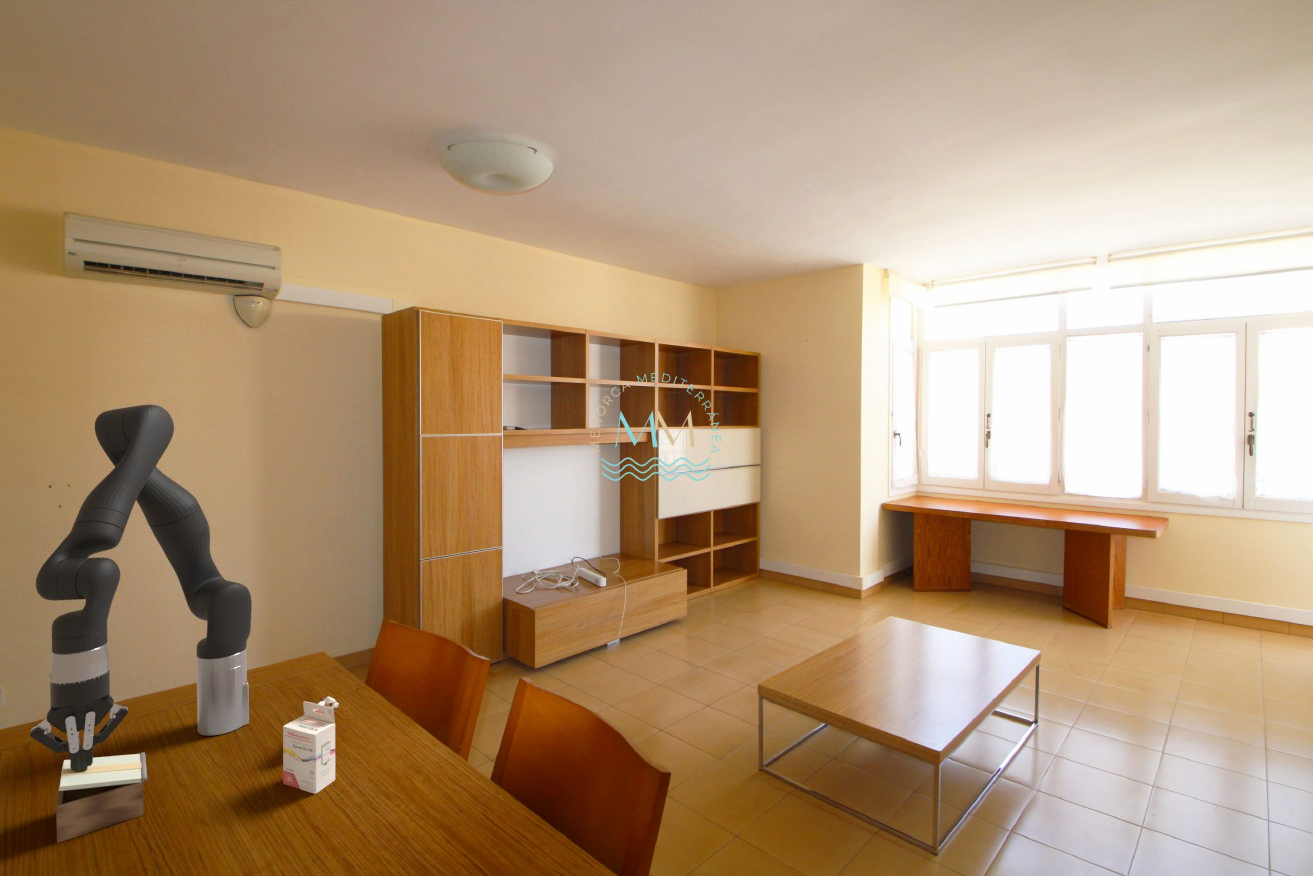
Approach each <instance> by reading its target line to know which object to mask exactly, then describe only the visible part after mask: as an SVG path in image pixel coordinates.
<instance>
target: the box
mask: <svg viewBox="0 0 1313 876" xmlns="http://www.w3.org/2000/svg"><path fill="white" fill-rule="evenodd" d="M55 811H56V812H55V813H56V816H55V817H56V843H57V844H58V843H61V842H64V841H67V840H71V839H73V838H77V837H80V836H83V835H87V834H89V833H92V832H96V831H98V830H102V829H104V828H108V827H111V826H114V825H117V824H120V823H122V822H127V821H129V820H132V819H133V820H134V819H136V818H139V817H142V816H144V811H145V810H144V782H139V783H130V784H120V785H111V786H102V787H92V788H83V789H74V790H64V791H59V790H58V793H57V801H56V806H55Z"/></svg>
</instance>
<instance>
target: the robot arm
mask: <svg viewBox="0 0 1313 876" xmlns="http://www.w3.org/2000/svg"><path fill="white" fill-rule="evenodd" d="M174 432H175V425H174V421H173V418H172V416H171V414H170V413H169V411H168V410H166V409H165V408H163V406H161V405H157V404H140V405H134V406H127V407H120V408H115V409H110V410H105V411H102V412H101V413H100V414H98V416H97V417H96V419H95V421H94V434H95V436H96V439H97V441H98V443H99V445H100V447H101V448H102V450H103V452H104V453H105V455H106V456H107V458H108V459H109V461H110V462H111V463H112V465H113V466H114V468H113V469H112V470H111V471H110V472H109V473H108V474H107V475H106V476H105V477H104V478H103V479H102V480H101V481H100V482H99V483H98V484H96V486H95V487H93V489H92V490H91V491H90V493H88V495H87V496H86V498H85V500H84V501H83V503H82V504H81V506H80V508H79V511H78V513H77V515H76V518H75V520H74V522H73V526H72V527H71V530H70V532H69V533H68V535H67V536H65V538H64V539H63V540H62V541H61V543H60V544H59V545H58V546H57V548H56V549H55V550H54V551H53V552H52V553H51V555H50V556H49V557H48V558H47V559H46V561H44V563H43V564H42V566H41V567H40V568H39V571H38V573H37V575H36V578H35V588H36V592H37V594H38V595H39V596H40V598H42V599H43V600H47V601H56V602H58V601H73V600H74V601H75V600H77V601H78V600H85V603H84V606H83V608H82V609H78V610H73V611H69V612H67V613H64V614H61V615H58V616H57V617H56V618H55V619H54V620H53V621H52V624H51V658H50V663H49V673H48V676H49V683H50V684H49V686H50V687H49V688H50V690H49V693H50V696H49V697H50V698H49V699H50V701H49V702H50V709H49V710H48V712H47V713H46V718H45V719H44V720H42V721H41V722H39V724H34V725H33V726H32V727H31V730H30V732H29V733H30V734H29V736H30V738H32V739H34V740H35V741H36V742H39V743H40V744H41V745H43V746H45V747H46V748H47V749H49V750H51V751H53V752H54V753H56V754H62V753H69V754H70V755H69V756H70V757H69V758H70V759H69V760H70V768H71V770H76V773H77V772H81V771H85V770H87V767H88V766H91V765H92V763H93V758H94V749H93V748H94V747H95V746H96V745H97V744H99V743H100V744H102V743H105V741H106V740H107V739H108V738H109V737H110V735H111V734H112V733H113V732H114V731H115V730H116V728H118V726H119V725H120V724H121V722H122V721H123V720H124V719H125V717H127V716H128V714H129V706H128V705H126V704H123V705H120V704H117V703H114V701H115V700H114V698H113V697H112V695H111V693H110V692H111V689H110V686H111V683H110V679H111V677H110V676H111V675H110V672H111V671H110V668H111V667H110V666H111V663H110V651H109V644H108V619H109V614H110V611H111V607H112V603H113V600H114V598H115V594H116V592H117V589H118V586H119V583H120V580H121V569H120V567H119V565H118V564H117V563H116V561H115V560H113V559H112V558H110V557H109V558H108V557H90V556H91V555H94V554H98V553H102V552H105V551H106V552H107V551H109V550H112V549H115V548H116V547H117V546H119V544H120V542H121V540H122V538H123V534H124V532H125V530H126V527H127V524H128V522H129V519H130V516H131V513H132V511H133V508H134V505H135V503H136V502H137V504H138V506H139V508H140V509H141V512H142V513H143V515H144V517H145V520H146V523H147V525H148V526H149V528H150V530H151V532H152V533H153V536H154V537H155V539H156V540H157V541H156V542H158V544H159V546H160V547H161V549H162V552H163V553H164V555H165V557H166V558H167V561H168V562H169V564H170V566H171V567H172V569H173V570H174V572H175V575H176V576H177V579H178V581H179V585H180V587H181V590H182V593H183V596H184V599H185V600H186V604H187V607H188V609H189V610H190V613H192V614H193V616H195V617H196V618H198V619H199V620H202V621H206V623H207V624H206V626H207V627H206V636H205V638H202V639H201V640H199V641H198V642H197V644H196V695H197V696H196V699H197V701H196V702H197V704H196V705H197V709H196V711H197V713H196V714H197V715H196V716H197V720H196V722H197V723H196V725H197V733H198V734H199V735H202V736H208V737H209V736H210V737H211V736H218V735H224V734H226V733H230V732H233V731H236V730H238V729H239V728H241V727H243V726H246V725H249V724H250V709H249V707H250V705H249V704H250V703H249V700H250V699H249V697H250V696H249V695H250V694H249V692H250V691H249V687H250V684H249V682H248V678H247V677H248V672H247V671H248V670H247V669H248V668H247V667H248V665H247V658H248V657H247V656H248V655H247V654H248V653H247V642H248V639H249V636H250V634H251V630H252V629H251V628H252V624H251V623H252V608H253V607H252V605H253V604H252V602H253V601H252V596H251V592H250V589H249V588H248V587H247V586H246V585H244V584H242V583H240V582H235V581H232V580H226V579H225V578H224V577H223V576H222V574H221V572H220V571H219V569H218V567H217V565H216V563H215V561H214V560H213V557H212V555H211V531H210V529H211V528H210V526H209V525H210V524H209V521H208V519H207V517H206V515H205V513H204V511H203V509H202V507H201V505H200V503H199V501H198V500H197V498H196V497H195V496H194V495H193V494H192V493H191V492H190V491H189V490H188V489H186V488H184V487H183V486H182V485H180V484H179V483H178V482H176V481H175V480H173V479H171V478H170V477H169V476H168V475H166V474H165V473H163V472H162V471H161V470H160V468H158V466H157V465H158V464H159V461H160V460H161V458H162V457H163V455H164V453H165V451H167V449H168V447H169V445H170V443H171V441H172V438H173V436H174ZM108 713H109V719H108V720H107V722H106V723H105V724H104V725H103V726H102V727H101V729H100V730H99V731H98V732H97V733H96V734H94V731H95V727H97V726H98V725H100V723H101V722H102V721H103V719H105V717H106V716H107V715H108ZM52 726H53V727H55V728H56V729H57V730H59V731H60V732H61V733H64V734H66V735H67V740H64V739H63V738H62V737H59V736H58V735H57V734H55V733H54V732H52ZM81 731H84V733H83V744H82V746H81V740H80V732H81Z"/></svg>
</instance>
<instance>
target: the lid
mask: <svg viewBox="0 0 1313 876" xmlns="http://www.w3.org/2000/svg"><path fill="white" fill-rule="evenodd" d="M146 758H147V757H146V753H145V752H144V751H143V752H140V753H136V754H135V753H134V754H122V755H120V754H119V755H110V756H100V757H93V763H92V765H91V766H88V767H87V770H85V771H81V772H77V773H76V770H71V768H70V759H64V760H63V763H62V768H61V773H60V780H59V787H58V792H59V791H64V790H74V789H83V788H92V787H102V786H111V785H120V784H130V783H139V782H143V783H144V782H146V781H147V780H148V772H147V771H148V770H147V760H146Z"/></svg>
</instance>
